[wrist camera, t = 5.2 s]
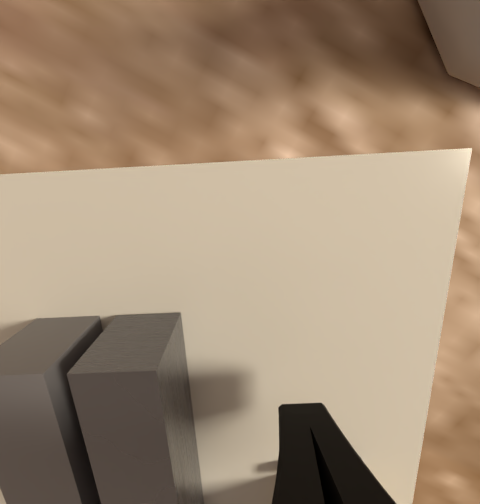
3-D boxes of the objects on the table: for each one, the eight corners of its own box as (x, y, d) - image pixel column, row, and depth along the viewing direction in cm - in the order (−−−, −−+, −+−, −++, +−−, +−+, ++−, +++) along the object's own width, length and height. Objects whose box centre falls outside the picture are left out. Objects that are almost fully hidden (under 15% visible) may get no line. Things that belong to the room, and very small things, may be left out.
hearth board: (382, 588, 16) (427, 724, 12) (42, 597, 17) (-21, 732, 13) (444, 150, 10) (591, 137, 6) (-127, 182, 10) (-375, 191, 6)
